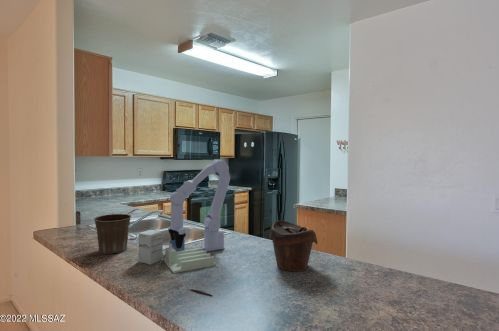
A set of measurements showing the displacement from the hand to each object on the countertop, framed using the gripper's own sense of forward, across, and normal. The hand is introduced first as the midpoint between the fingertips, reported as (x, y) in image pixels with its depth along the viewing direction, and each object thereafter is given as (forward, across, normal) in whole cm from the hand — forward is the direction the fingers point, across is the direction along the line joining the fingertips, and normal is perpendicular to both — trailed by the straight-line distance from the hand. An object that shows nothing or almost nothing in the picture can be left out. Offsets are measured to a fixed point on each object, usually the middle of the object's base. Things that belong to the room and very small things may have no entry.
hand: (176, 245), depth 136 cm
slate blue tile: (+3, 0, 0) cm, 3 cm away
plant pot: (+4, -18, -26) cm, 31 cm away
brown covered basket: (+3, +40, +38) cm, 55 cm away
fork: (+4, +42, -6) cm, 42 cm away
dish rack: (+3, +16, +1) cm, 16 cm away
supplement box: (+3, +6, -13) cm, 14 cm away
